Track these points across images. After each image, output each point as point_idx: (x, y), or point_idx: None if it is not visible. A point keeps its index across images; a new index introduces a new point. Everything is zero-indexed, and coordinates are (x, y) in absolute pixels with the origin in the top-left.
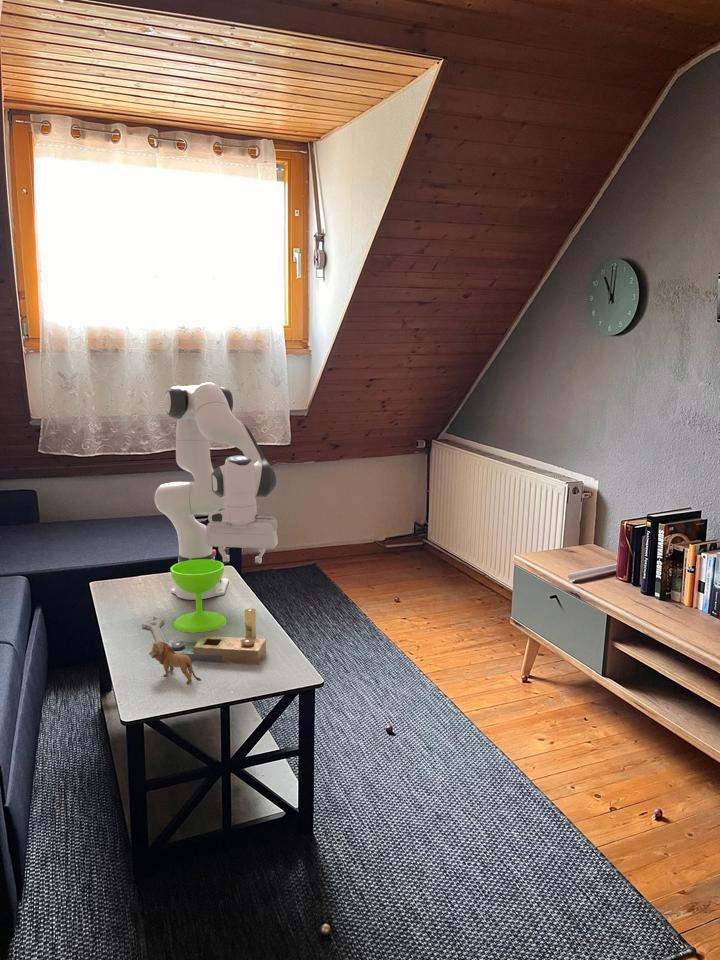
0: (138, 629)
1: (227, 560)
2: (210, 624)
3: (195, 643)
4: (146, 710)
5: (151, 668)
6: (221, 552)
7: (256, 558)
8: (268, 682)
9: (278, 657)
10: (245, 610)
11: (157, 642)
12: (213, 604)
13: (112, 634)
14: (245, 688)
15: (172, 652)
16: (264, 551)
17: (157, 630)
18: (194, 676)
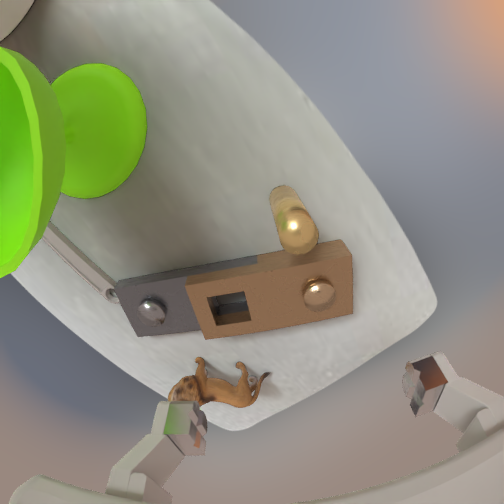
0: None
1: (206, 431)
2: (120, 149)
3: (173, 286)
4: (242, 423)
5: (158, 355)
6: (162, 480)
7: (423, 409)
8: (376, 338)
9: (373, 252)
10: (284, 245)
11: None
12: (55, 18)
13: None
14: (346, 362)
15: (209, 401)
16: (492, 401)
17: (46, 231)
18: (261, 382)
